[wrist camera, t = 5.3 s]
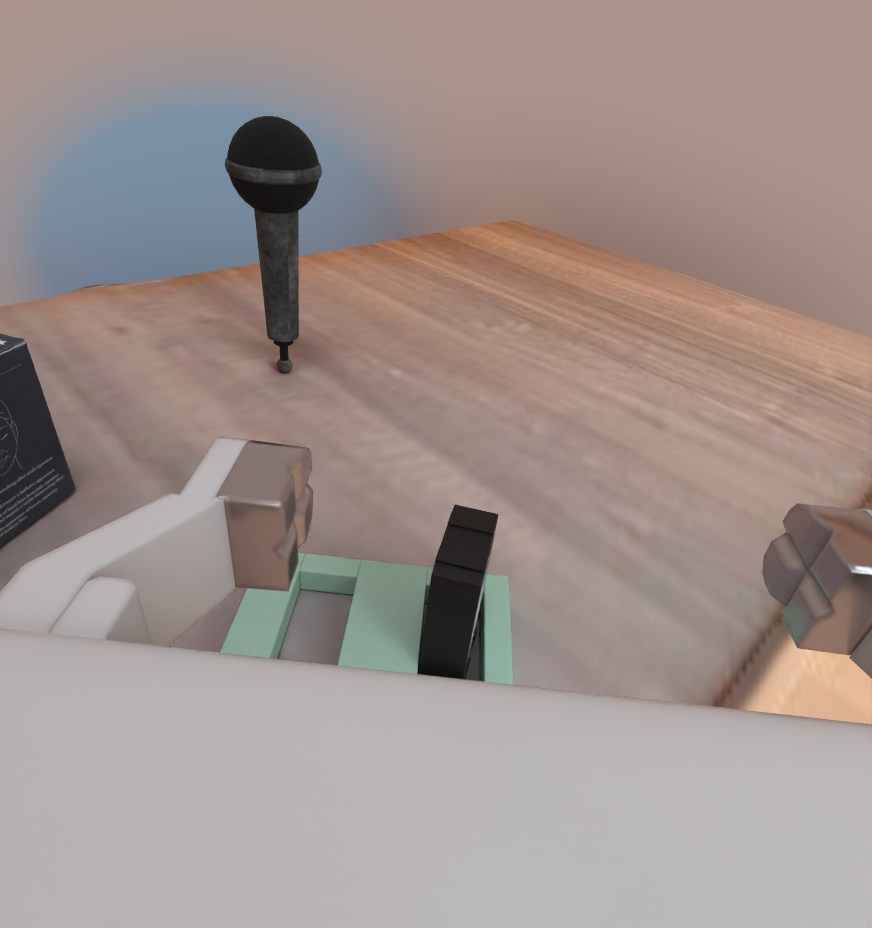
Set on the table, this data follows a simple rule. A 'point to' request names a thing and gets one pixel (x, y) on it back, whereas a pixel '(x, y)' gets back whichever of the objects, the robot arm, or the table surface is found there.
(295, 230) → the microphone
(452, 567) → the ink cartridge
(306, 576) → the holder
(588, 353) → the table surface
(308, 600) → the table surface
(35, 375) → the box
